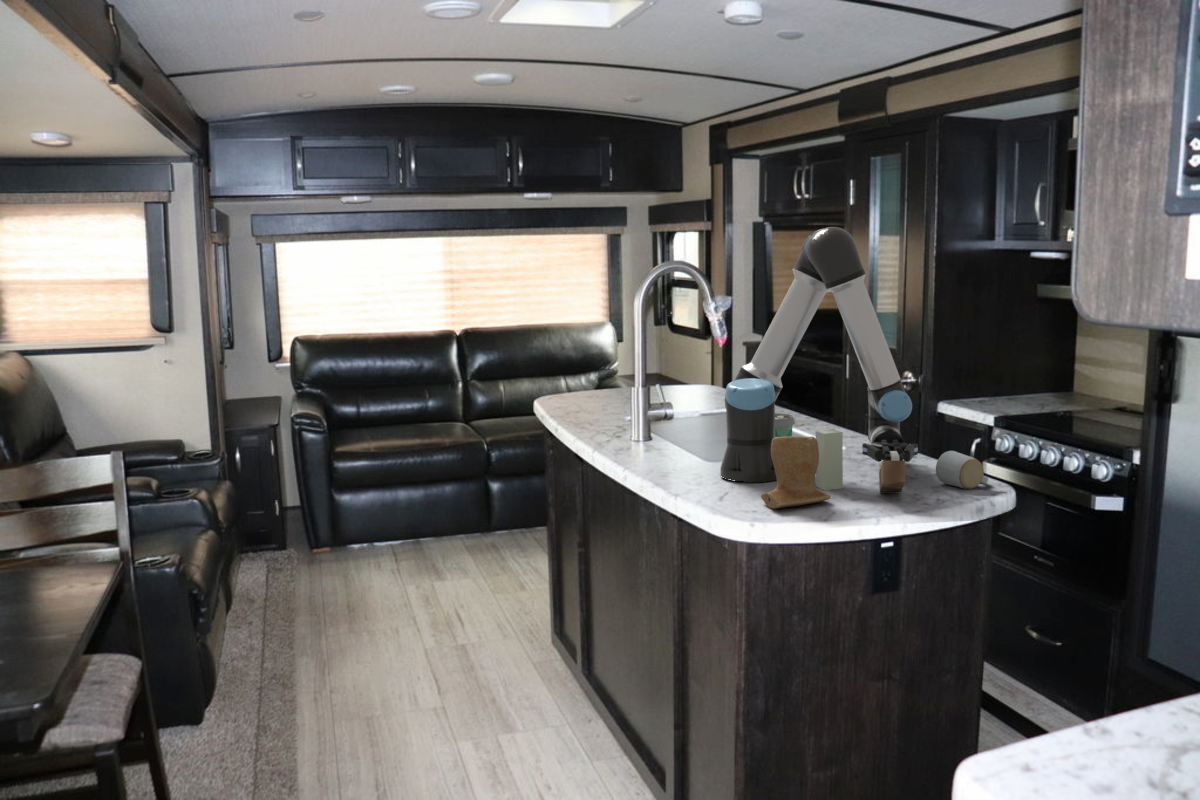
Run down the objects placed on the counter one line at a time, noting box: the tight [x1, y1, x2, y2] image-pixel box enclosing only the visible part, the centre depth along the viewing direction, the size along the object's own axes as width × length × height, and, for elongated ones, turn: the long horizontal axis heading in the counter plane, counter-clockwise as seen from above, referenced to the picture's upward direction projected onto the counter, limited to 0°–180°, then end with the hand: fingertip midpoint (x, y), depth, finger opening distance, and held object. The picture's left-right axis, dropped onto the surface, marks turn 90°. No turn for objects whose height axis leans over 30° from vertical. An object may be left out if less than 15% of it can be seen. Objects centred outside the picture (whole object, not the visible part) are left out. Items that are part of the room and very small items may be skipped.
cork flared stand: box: [760, 435, 832, 509], centre depth 210 cm, size 15×12×15 cm
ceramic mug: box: [935, 450, 989, 490], centre depth 221 cm, size 11×8×8 cm
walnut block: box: [878, 460, 907, 494], centre depth 211 cm, size 4×4×14 cm
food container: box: [775, 412, 796, 437], centre depth 269 cm, size 12×6×10 cm, turn 168°
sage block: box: [815, 428, 844, 491], centre depth 224 cm, size 4×4×13 cm
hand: (895, 462), depth 215 cm, fingers closed
